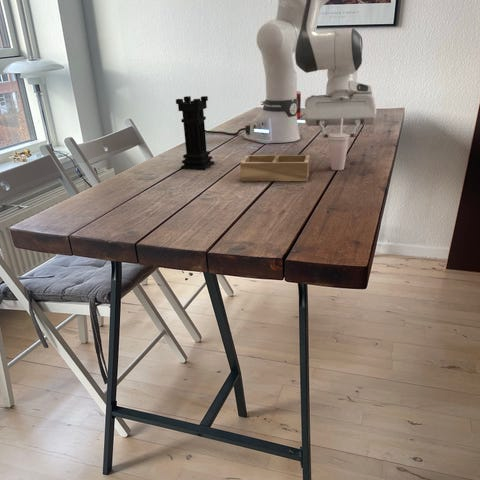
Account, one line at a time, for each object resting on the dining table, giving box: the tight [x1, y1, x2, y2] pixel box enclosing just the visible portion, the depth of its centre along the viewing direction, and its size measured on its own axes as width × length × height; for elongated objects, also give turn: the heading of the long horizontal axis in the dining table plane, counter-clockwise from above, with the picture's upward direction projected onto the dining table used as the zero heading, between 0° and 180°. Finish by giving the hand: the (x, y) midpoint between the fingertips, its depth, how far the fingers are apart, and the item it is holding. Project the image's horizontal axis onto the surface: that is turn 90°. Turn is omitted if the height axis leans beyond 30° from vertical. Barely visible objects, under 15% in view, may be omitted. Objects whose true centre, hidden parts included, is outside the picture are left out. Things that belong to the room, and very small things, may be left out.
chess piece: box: [175, 95, 215, 171], centre depth 153 cm, size 8×8×20 cm
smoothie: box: [327, 118, 351, 171], centre depth 144 cm, size 6×6×14 cm
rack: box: [239, 154, 311, 182], centre depth 142 cm, size 10×19×5 cm, turn 80°
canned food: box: [297, 90, 302, 119], centre depth 228 cm, size 8×8×11 cm
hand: (339, 136), depth 142 cm, fingers closed on smoothie, 6 cm apart
